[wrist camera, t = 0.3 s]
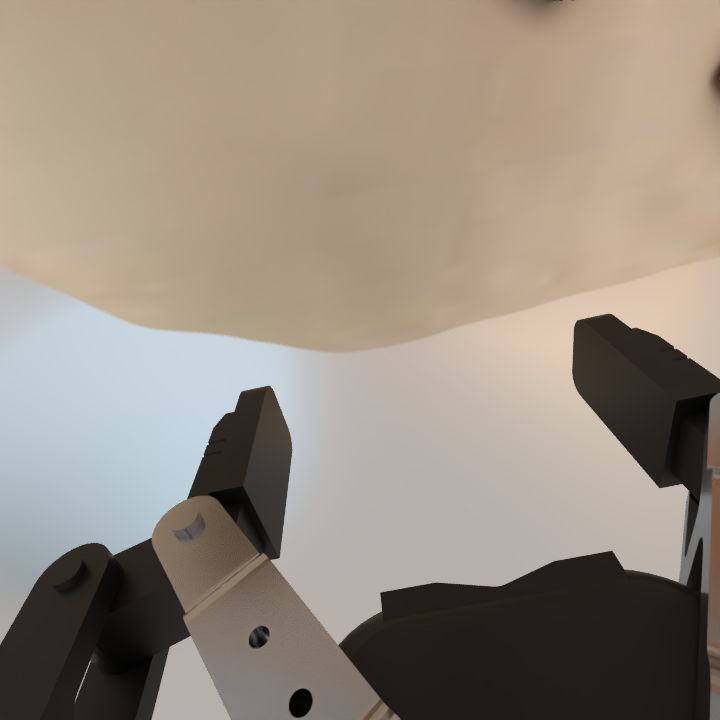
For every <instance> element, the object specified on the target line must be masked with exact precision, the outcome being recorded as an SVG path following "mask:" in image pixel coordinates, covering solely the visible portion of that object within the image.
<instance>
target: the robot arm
mask: <svg viewBox="0 0 720 720" xmlns="http://www.w3.org/2000/svg"><path fill="white" fill-rule="evenodd" d="M572 374H573V380H574V384H575V386H576V389H577V391H578V392H579V394H580V395H581V396H582V398H583V399H584V400H585V401H586V403H587V404H588V405H589V406H590V407H591V408H592V409H593V411H594V412H595V413H596V414H597V415H598V417H599V418H600V419H601V420H602V421H603V422H604V424H605V425H606V426H607V427H608V428H609V429H610V430H611V432H612V433H613V434H614V435H615V436H616V438H617V439H618V440H619V441H620V442H621V444H622V445H623V446H624V447H625V448H626V449H627V451H628V452H629V453H630V454H631V455H632V456H633V458H634V459H635V460H636V461H637V462H638V463H639V465H640V466H641V467H642V468H643V469H644V470H645V472H646V473H647V474H648V475H649V476H650V478H651V479H652V480H653V481H654V482H655V483H656V485H657V486H658V487H659V488H663V487H669V486H674V485H679V484H683V485H684V486H685V487H686V488H687V489H688V490H689V492H688V496H687V501H686V510H685V522H684V533H683V546H682V558H681V569H680V577H679V583H678V582H676V581H673V580H670V579H667V578H664V577H661V576H657V575H653V574H649V573H644V572H638V571H633V570H624V569H623V567H622V566H621V564H620V562H619V561H618V559H617V558H616V556H615V554H614V553H613V551H608V552H603V553H598V554H592V555H587V556H581V557H576V558H570V559H565V560H559V561H554V562H551V563H549V564H547V565H545V566H543V567H541V568H539V569H537V570H535V571H533V572H530V573H528V574H526V575H524V576H522V577H520V578H518V579H516V580H514V581H512V582H510V583H507V584H505V585H503V586H498V587H489V586H476V585H462V584H448V583H431V584H426V585H420V586H414V587H409V588H404V589H398V590H393V591H387V592H381V603H382V612H380V613H378V614H376V615H374V616H373V617H371V618H369V619H368V620H367V621H365V622H363V623H362V624H360V625H359V626H358V627H357V628H356V629H354V630H353V631H352V632H351V633H350V634H349V635H348V636H347V637H346V638H345V639H344V640H343V641H342V642H341V643H340V644H339V645H337V643H336V642H335V641H334V640H333V639H332V637H331V636H330V635H329V633H328V632H327V631H326V630H325V629H324V627H323V626H322V625H321V624H320V622H319V621H318V620H317V618H316V617H315V616H314V615H313V613H312V612H311V611H310V610H309V608H308V607H307V606H306V605H305V603H304V602H303V601H302V600H301V599H300V597H299V596H298V595H297V593H296V592H295V591H294V590H293V588H292V587H291V586H290V585H289V583H288V582H287V581H286V580H285V578H284V577H283V576H282V575H281V573H280V572H279V571H278V570H277V568H276V567H275V566H274V564H273V563H272V562H271V561H270V560H272V559H278V558H280V549H281V541H282V532H283V524H284V515H285V507H286V499H287V491H288V482H289V473H290V465H291V457H292V442H291V437H290V432H289V430H288V427H287V424H286V421H285V419H284V416H283V414H282V411H281V409H280V406H279V404H278V401H277V398H276V396H275V393H274V391H273V389H272V388H271V387H270V386H265V387H260V388H256V389H251V390H246V391H242V392H241V394H240V396H239V399H238V403H237V406H236V409H235V412H232V413H227V414H225V415H224V416H223V418H222V419H221V420H220V421H219V422H218V423H217V425H216V426H215V427H214V428H213V431H212V434H211V436H210V439H209V442H208V443H209V445H207V447H206V450H205V453H204V457H203V458H202V461H201V463H200V466H199V469H198V471H197V474H196V477H195V480H194V482H193V485H192V488H191V490H190V493H189V496H188V498H187V500H185V501H183V502H181V503H179V504H177V505H176V506H174V507H173V508H172V509H170V510H169V511H168V512H167V513H166V514H165V515H164V516H163V517H162V518H161V519H160V521H159V522H158V524H157V525H156V527H155V529H154V532H153V535H152V538H150V539H148V540H146V541H144V542H142V543H140V544H137V545H135V546H133V547H131V548H129V549H127V550H124V551H122V552H120V553H118V554H116V555H114V556H113V555H112V554H111V553H110V551H109V550H108V549H107V548H106V547H105V546H104V545H102V544H99V543H90V544H85V545H82V546H79V547H77V548H75V549H73V550H71V551H69V552H67V553H66V554H64V555H63V556H61V557H60V558H59V559H57V560H56V561H55V562H54V563H53V564H52V565H50V566H49V567H48V568H47V569H46V570H45V571H44V572H43V574H42V575H41V576H40V577H39V579H38V580H37V582H36V584H35V585H34V587H33V589H32V590H31V592H30V594H29V596H28V598H27V599H26V601H25V603H24V604H23V606H22V608H21V610H20V611H19V613H18V615H17V617H16V618H15V620H14V622H13V624H12V625H11V627H10V629H9V631H8V632H7V634H6V636H5V638H4V639H3V641H2V643H1V645H0V720H151V719H152V715H153V711H154V707H155V703H156V699H157V695H158V691H159V687H160V683H161V679H162V675H163V671H164V667H165V663H166V659H167V655H168V651H169V647H170V646H172V645H174V644H176V643H178V642H180V641H182V640H184V639H186V638H187V637H189V636H191V637H192V639H193V641H194V643H195V645H196V647H197V649H198V651H199V653H200V656H201V657H202V660H203V662H204V664H205V666H206V668H207V670H208V672H209V674H210V676H211V678H212V680H213V682H214V685H215V687H216V689H217V691H218V693H219V695H220V697H221V699H222V701H223V703H224V705H225V707H226V709H227V712H228V714H229V716H230V718H231V720H720V379H719V378H717V377H716V376H715V375H713V374H712V373H710V372H709V371H707V370H706V369H705V368H703V367H702V366H700V365H699V364H698V363H696V362H695V361H693V360H692V359H688V358H687V356H686V355H685V354H683V353H682V352H681V351H679V350H677V349H674V347H673V346H672V345H670V344H669V343H668V342H666V341H665V340H664V339H662V338H661V337H659V336H657V335H655V334H652V333H649V332H647V331H644V330H641V329H638V328H633V329H631V328H630V327H628V326H627V325H626V324H624V323H623V322H622V321H620V320H619V319H618V318H616V317H615V316H614V315H612V314H605V315H600V316H595V317H591V318H586V319H582V320H578V321H577V322H576V324H575V327H574V343H573V369H572ZM90 661H91V663H90V665H89V668H88V670H87V673H86V676H85V679H84V681H83V684H82V686H81V689H80V691H79V694H78V697H77V699H76V701H75V698H76V695H77V692H78V690H79V687H80V685H81V682H82V679H83V677H84V674H85V672H86V669H87V667H88V664H89V662H90ZM74 703H75V704H74Z"/></svg>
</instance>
